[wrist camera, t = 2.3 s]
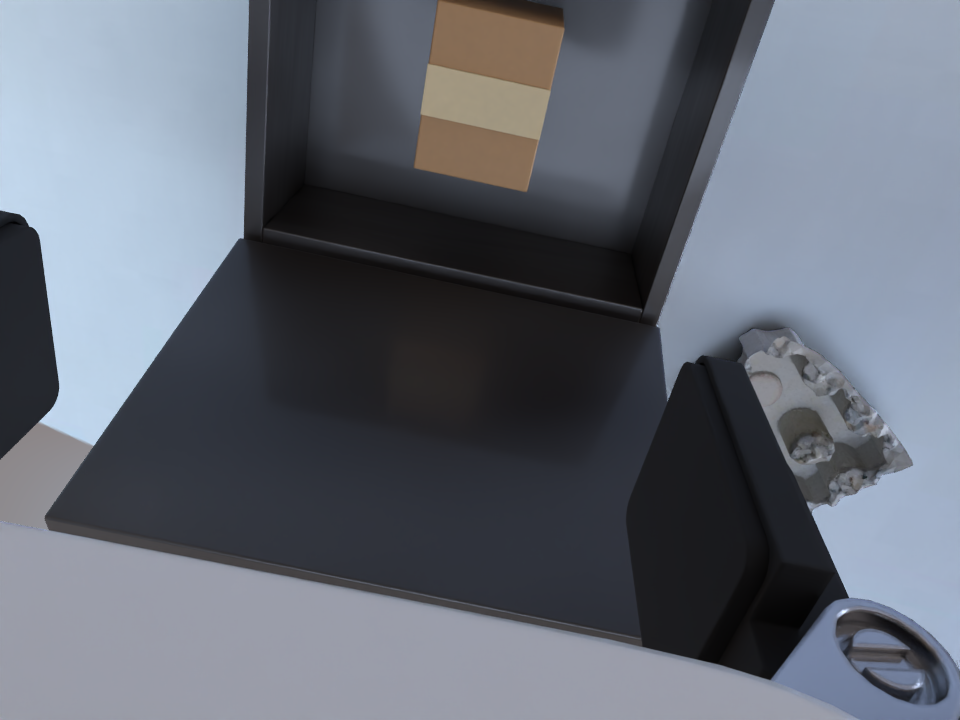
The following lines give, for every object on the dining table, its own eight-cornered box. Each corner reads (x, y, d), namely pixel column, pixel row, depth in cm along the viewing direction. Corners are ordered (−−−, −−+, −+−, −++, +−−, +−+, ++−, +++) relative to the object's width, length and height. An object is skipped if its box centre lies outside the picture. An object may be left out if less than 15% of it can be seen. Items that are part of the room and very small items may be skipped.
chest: (311, -128, 30) (251, -140, 24) (739, -32, 30) (783, -21, 25) (292, 190, 37) (243, 241, 31) (640, 265, 37) (655, 328, 32)
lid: (42, 517, 20) (77, 612, 23) (695, 649, 20) (637, 724, 23) (239, 237, 31) (244, 328, 34) (660, 326, 31) (624, 408, 34)
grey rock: (665, 382, 41) (675, 425, 37) (784, 299, 38) (807, 338, 34) (778, 494, 44) (797, 544, 41) (896, 427, 41) (928, 474, 37)
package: (458, -15, 31) (436, -1, 25) (563, 8, 31) (565, 28, 25) (436, 127, 34) (412, 169, 28) (531, 148, 34) (527, 194, 28)
